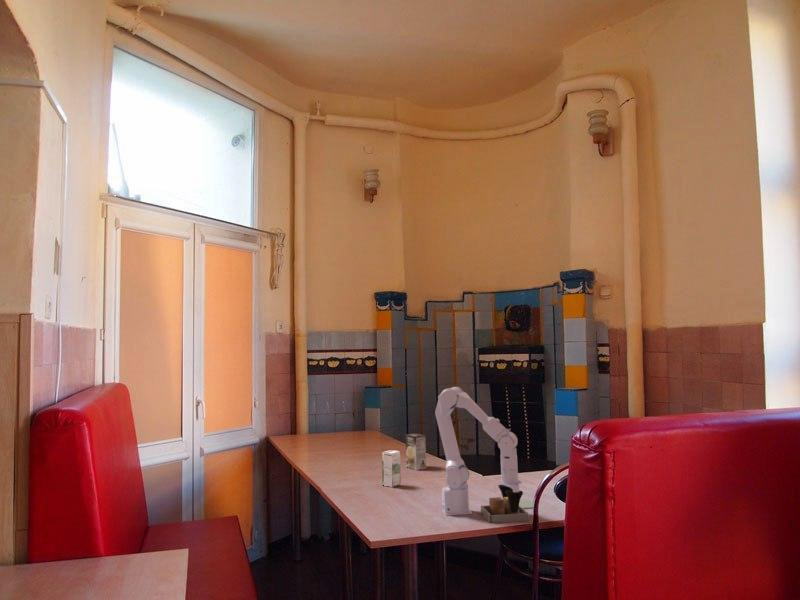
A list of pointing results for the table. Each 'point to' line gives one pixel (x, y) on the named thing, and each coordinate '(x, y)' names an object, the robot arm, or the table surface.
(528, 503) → the mat
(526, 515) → the bin
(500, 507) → the plain block
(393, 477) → the syrup box
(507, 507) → the label block
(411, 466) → the coffee box
